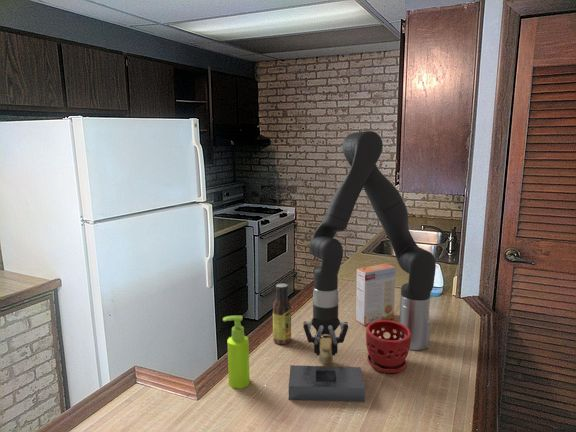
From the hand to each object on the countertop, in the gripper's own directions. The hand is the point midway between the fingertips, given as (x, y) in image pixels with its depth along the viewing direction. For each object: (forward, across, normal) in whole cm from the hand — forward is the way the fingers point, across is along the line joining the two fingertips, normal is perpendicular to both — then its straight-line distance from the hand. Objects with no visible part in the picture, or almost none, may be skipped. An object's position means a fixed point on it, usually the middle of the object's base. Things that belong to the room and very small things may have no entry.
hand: (325, 353), depth 126 cm
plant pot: (+4, -19, 0) cm, 19 cm away
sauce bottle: (+3, +14, -14) cm, 20 cm away
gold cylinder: (+2, 0, 0) cm, 2 cm away
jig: (+3, 0, +13) cm, 13 cm away
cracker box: (+4, -20, -32) cm, 38 cm away
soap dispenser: (+3, +25, +11) cm, 28 cm away
